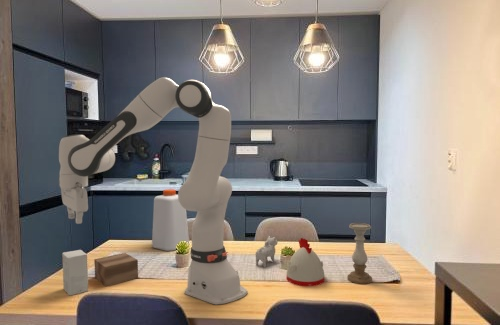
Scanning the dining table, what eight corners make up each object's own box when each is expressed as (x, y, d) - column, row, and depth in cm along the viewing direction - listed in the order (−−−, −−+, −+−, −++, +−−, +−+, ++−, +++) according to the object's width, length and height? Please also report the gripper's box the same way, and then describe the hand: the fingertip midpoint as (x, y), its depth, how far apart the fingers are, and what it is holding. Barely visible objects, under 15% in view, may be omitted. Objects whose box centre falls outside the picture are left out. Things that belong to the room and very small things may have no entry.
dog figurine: (280, 259, 159) (280, 235, 158) (264, 268, 148) (264, 242, 148) (270, 257, 162) (270, 233, 161) (253, 265, 151) (253, 240, 151)
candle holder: (342, 277, 137) (342, 223, 136) (361, 274, 140) (362, 221, 139) (357, 285, 129) (357, 228, 128) (377, 282, 132) (377, 226, 131)
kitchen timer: (312, 270, 145) (311, 233, 144) (331, 282, 132) (331, 241, 131) (280, 275, 140) (280, 236, 139) (297, 288, 127) (297, 246, 126)
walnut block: (138, 278, 139) (137, 259, 138) (106, 286, 131) (105, 267, 131) (125, 269, 148) (125, 252, 148) (94, 277, 140) (94, 259, 140)
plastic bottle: (192, 244, 183) (191, 189, 182) (170, 252, 171) (168, 192, 169) (171, 240, 192) (170, 187, 190) (148, 247, 179) (146, 190, 178)
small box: (88, 291, 127) (87, 254, 126) (68, 296, 123) (67, 258, 122) (82, 284, 133) (80, 249, 133) (63, 288, 129) (61, 252, 129)
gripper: (92, 183, 121) (93, 225, 122) (76, 178, 137) (77, 214, 138) (71, 185, 117) (73, 228, 118) (57, 179, 133) (58, 217, 134)
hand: (75, 220), depth 128 cm, fingers open, 8 cm apart
